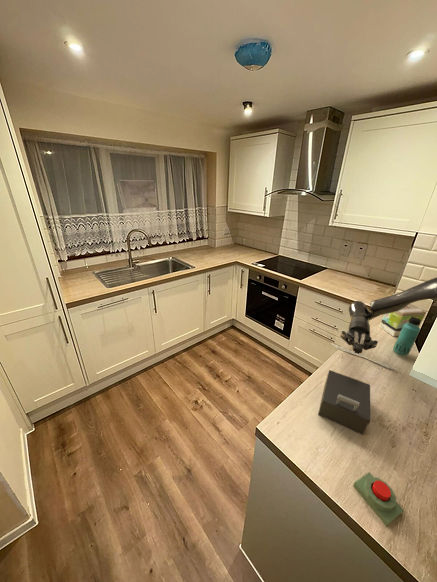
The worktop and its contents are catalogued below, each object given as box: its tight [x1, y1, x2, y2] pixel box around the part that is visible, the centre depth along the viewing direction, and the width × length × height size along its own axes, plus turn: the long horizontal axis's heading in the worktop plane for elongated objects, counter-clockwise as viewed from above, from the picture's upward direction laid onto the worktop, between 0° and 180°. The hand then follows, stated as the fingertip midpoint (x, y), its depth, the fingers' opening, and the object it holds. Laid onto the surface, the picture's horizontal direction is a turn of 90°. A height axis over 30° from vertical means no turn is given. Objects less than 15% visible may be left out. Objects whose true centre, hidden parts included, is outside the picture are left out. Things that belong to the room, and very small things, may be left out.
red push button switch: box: [352, 471, 405, 527], centre depth 60 cm, size 6×9×4 cm
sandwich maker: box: [317, 375, 369, 436], centre depth 84 cm, size 16×14×6 cm
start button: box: [372, 480, 391, 501], centre depth 59 cm, size 4×4×2 cm
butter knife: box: [330, 342, 395, 371], centre depth 111 cm, size 1×27×3 cm
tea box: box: [378, 303, 427, 337], centre depth 129 cm, size 15×10×15 cm, turn 102°
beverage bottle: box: [392, 317, 422, 357], centre depth 109 cm, size 6×7×20 cm
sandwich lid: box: [322, 369, 371, 425], centre depth 81 cm, size 17×14×5 cm
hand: (357, 351), depth 84 cm, fingers closed
